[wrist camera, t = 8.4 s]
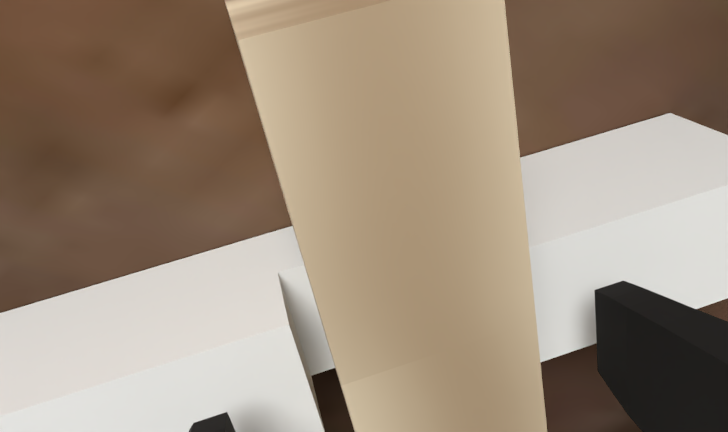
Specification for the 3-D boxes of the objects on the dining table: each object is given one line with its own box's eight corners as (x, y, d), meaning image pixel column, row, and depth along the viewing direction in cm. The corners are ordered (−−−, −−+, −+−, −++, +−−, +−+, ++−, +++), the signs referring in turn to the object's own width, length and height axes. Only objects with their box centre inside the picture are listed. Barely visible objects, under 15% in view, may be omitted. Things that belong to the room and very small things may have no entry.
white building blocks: (39, 411, 16) (-8, 550, 12) (-18, 318, 14) (-90, 444, 11) (667, 210, 18) (782, 279, 14) (670, 112, 16) (797, 162, 13)
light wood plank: (361, 456, 19) (438, 708, 13) (220, -13, 13) (237, 40, 6) (452, 424, 19) (569, 655, 13) (359, -47, 13) (501, -29, 7)
